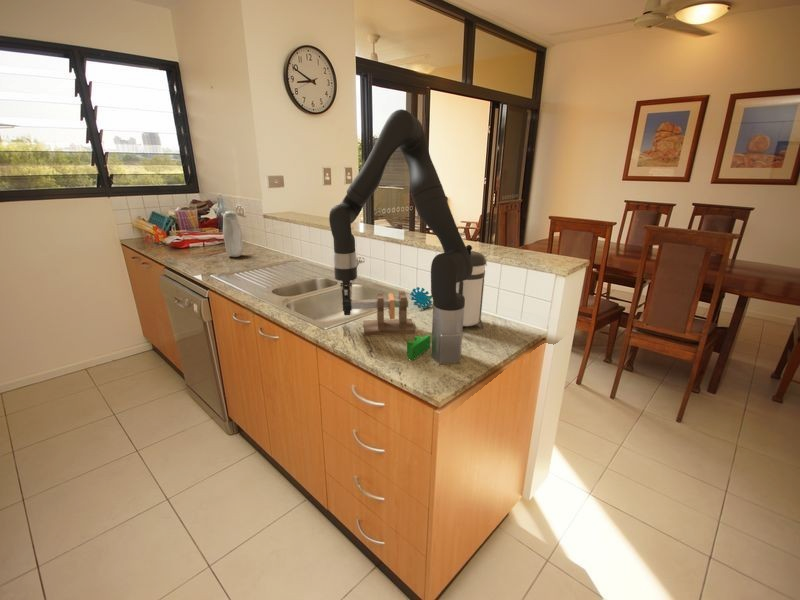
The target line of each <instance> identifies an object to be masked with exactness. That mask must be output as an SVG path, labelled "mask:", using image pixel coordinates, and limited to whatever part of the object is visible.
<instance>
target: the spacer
mask: <svg viewBox="0 0 800 600" xmlns="http://www.w3.org/2000/svg"><path fill="white" fill-rule="evenodd" d="M387 297H388V298H387V299H389V301H390V308H387V309H388V314H389V315H388V316H389V320H394V319H395V317H396V316H395V313H396V312H395V311H396V309H395V308H396V307H395V299H396V298H395V297H394V294H393V293H388V295H387Z"/></svg>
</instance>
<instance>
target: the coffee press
mask: <svg viewBox="0 0 800 600" xmlns="http://www.w3.org/2000/svg"><path fill="white" fill-rule="evenodd" d="M465 246H466V248H467V250H468V252H469V255H470V257H471V260H472V264H473V271H472V274H471V276H470V277H469V278H468V279H467V280H464V281H461V282H458V283H456V292H457V293H460V294H462V295H463V296H464V298H465V306H464V318H463V327H472V326H474V325H476V327H478V328H479V329H483V327H484V323H483V321H482V312H483V298H484V297H483V296H484V286H485V276H486V270H485V268H486V267H487V266H488V263H487V259H486V256H485V255H484V254H483V253H482V252H479V251H474V250H472V249H473V247H472V245H471V244H467V245H465ZM479 323H480V324H479Z"/></svg>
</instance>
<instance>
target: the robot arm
mask: <svg viewBox="0 0 800 600" xmlns="http://www.w3.org/2000/svg"><path fill="white" fill-rule="evenodd" d="M377 137H378V138H377V139H376V140H375V142H374V145H373V147H372V149H371V151H370V153H369V155H368V156H367V159H366V161H365V162H364V164H363V166H362V167H361V169H360V170H359V171H358V173H357V175H356V176H355V178H354V179H353V180H352V182H351V183H350V185H349V186H348V188H347V190H346V195H345V196H344V198H343V199H342V200H341V202H340V203H338V204H336V205H334V206H332V208H331V209H330V211H329V218H328V219H329V226H330V231H331V234H332V237H333V238H332V239H333V269H334V279H335V280H337V281H338V282H339V281H340V285H339V288H340V294H341V295H340V296H341V297H340V298H341V299H342V306H343V305H344V311H343V315H344V316H351V314H352V313H351V311H350V304H351V303H350V299H352V297H353V295H352V293H353V292H352V290H353V282H352V281H354V280H355V281H356V280H357V279H358V266H357V253H356V239H355V235H354V234H352V233H353V232H352V223H354V222H355V221H356V219H357V218H358V216H359V215H360V214H361V211H362V209H363V208H364V207H365V204H366V203H367V202H368V200H369V199H370V198H371V197H372V196H373V194H374V192H375V191H376V190H377V189H378V187H379V186H380V184H381V180H382V178H383V175H384V172H385V169H386V166H387V164H388V161H389V160H390V158H391V157H392V155H393V154H394V153H395V152H396V150H397V149H398V148H399V149H400V151H401V153H402V154H403V157H404V159H405V162H406V165H407V167H408V171H409V189H410V194H411V198H412V202H413V204H414V207H415V209H416V212H417V215H418V216H419V218H420V219H421V220H422V222H423V223H424V224H425V225H426V226H427V227H428V229H430V230H431V232H432V233H433V234H434V235H435V237H437V238H438V241H439V243H440V245H441V247H442V249H443V252H442V253H438V254H436V255H435V256H434V257H433V259H432V261H431V265H430V292H431V293H430V294H431V295H432V298H431V299H432V319H431V320H432V322H431V324H432V327H431V345H430V348H431V350H430V351H431V352H430V356H431V359H433V361H435V362H437V363H438V364H440V365H445V364H446V363H447V364H446V365H448V363H449V364H459V363H460V360H461V359H462V358H461V357H462V343H463V334H464V333H463V332H464V331H463V329H464V326H463V318H464V306H465V298H464V296H463V295H462V294H460V293H457V292H456V283H458V282H461V281H464V280H467V279H468V278H469V277H470V276H471V274H472V271H473V264H472V260H471V257H470V255H469V252H468V250H467V248H466V246H467V245H465V242H464V240H463V238H462V236H461V234H460V232H459V230H458V228H457V224H456V222H455V219H454V217H453V214H452V210H451V209H450V208H451V207H450V205H449V202H448V199H447V195H446V192H445V189H444V188H443V185H442V182H441V180H440V177H439V175H438V173H437V170H436V167H435V165H434V163H433V160H432V158H431V155H430V152H429V151H430V150H429V148H428V142H427V138H426V134H425V130H424V127H423V124H422V123H421V122H420V120H419V119H418V118H417V117H416V116H414V115H413V114H412V113H410V111H408V110H406V109H396V110H394V111H393V112H392V113H390V115H389V116H388V118H387V119H386V121H385V123H384V125H383V127H382V129H381V130H380V132H379V134H378V136H377ZM347 299H348V300H349V302H345V300H347Z"/></svg>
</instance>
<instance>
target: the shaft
mask: <svg viewBox="0 0 800 600" xmlns="http://www.w3.org/2000/svg"><path fill="white" fill-rule="evenodd" d="M394 299H395V308H399V307H400V299H399V298H394ZM345 302H349V300H348V299H347V300H345ZM350 303H351V304H350V312H351V311H352V310H358V309H359V310H361V309H362V310H363V309H366V310H367V309H377V308H378V301H377V298H375V299H373V298H372V299H352V298H350ZM388 308H390V301H389V299H388V298H384V309H388ZM407 308H409V299H408V298H407ZM342 311H343V312H344V305H343V304H342Z"/></svg>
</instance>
